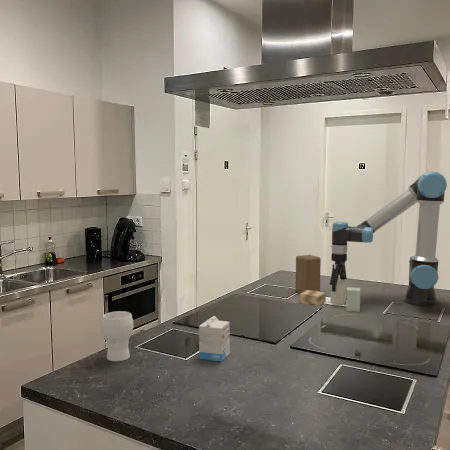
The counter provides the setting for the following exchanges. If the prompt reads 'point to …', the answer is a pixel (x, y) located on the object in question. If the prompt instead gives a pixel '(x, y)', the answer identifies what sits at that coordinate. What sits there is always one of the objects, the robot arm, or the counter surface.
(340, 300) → the cream block
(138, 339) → the counter surface
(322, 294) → the oak base
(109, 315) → the cup
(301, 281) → the wooden block
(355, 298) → the sage block
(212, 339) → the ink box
